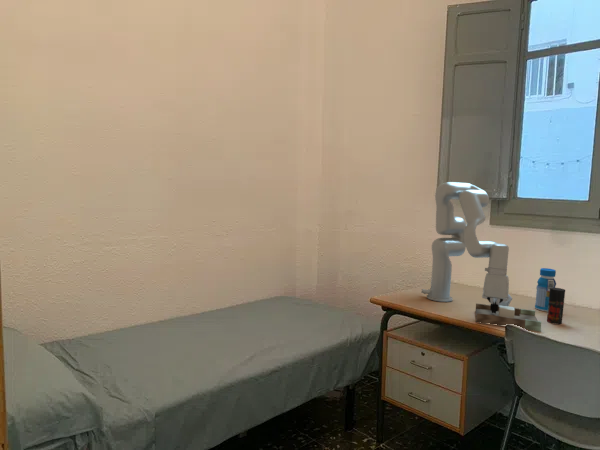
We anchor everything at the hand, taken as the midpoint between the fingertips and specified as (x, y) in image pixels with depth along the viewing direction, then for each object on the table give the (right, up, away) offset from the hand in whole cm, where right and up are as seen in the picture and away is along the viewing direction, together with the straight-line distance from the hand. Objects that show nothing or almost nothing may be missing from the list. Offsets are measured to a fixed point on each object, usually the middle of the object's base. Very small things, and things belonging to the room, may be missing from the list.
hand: (493, 312), depth 210 cm
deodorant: (+27, -5, +1) cm, 28 cm away
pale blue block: (+5, -2, -2) cm, 5 cm away
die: (+13, -2, +23) cm, 27 cm away
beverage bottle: (+33, -3, +22) cm, 40 cm away
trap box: (+5, -4, -1) cm, 6 cm away
